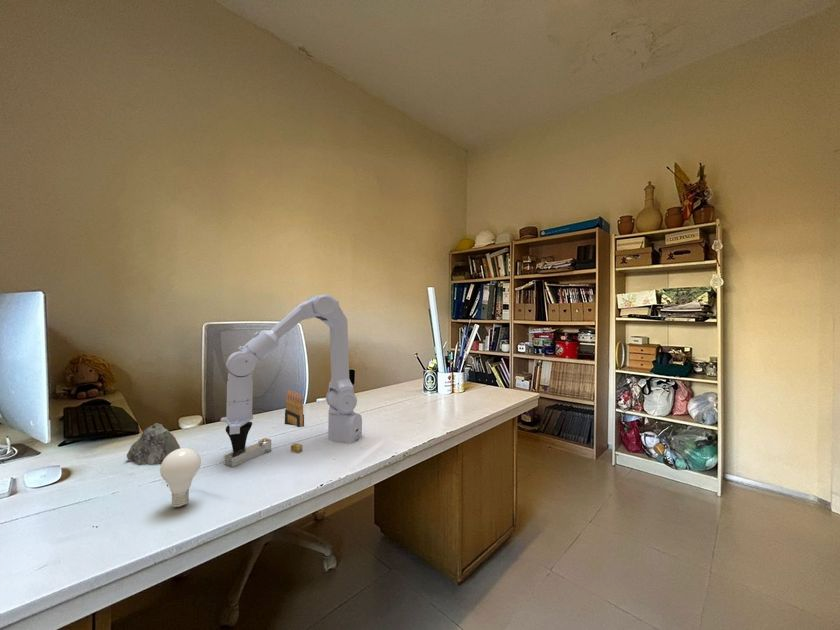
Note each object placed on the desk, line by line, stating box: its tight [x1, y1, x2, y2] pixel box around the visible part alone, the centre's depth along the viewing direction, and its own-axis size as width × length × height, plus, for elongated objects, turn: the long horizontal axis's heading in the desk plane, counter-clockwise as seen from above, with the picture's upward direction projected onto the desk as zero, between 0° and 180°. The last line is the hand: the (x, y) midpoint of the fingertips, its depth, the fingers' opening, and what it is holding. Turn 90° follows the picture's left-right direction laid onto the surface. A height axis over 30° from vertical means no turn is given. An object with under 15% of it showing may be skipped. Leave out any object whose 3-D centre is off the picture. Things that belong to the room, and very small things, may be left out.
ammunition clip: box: [284, 389, 305, 428], centre depth 111 cm, size 11×2×12 cm, turn 46°
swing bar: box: [223, 437, 272, 468], centre depth 83 cm, size 12×3×3 cm, turn 154°
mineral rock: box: [126, 422, 181, 466], centre depth 83 cm, size 13×11×10 cm
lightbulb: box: [159, 447, 202, 508], centre depth 64 cm, size 6×6×11 cm
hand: (238, 453), depth 83 cm, fingers closed, pressing on swing bar
